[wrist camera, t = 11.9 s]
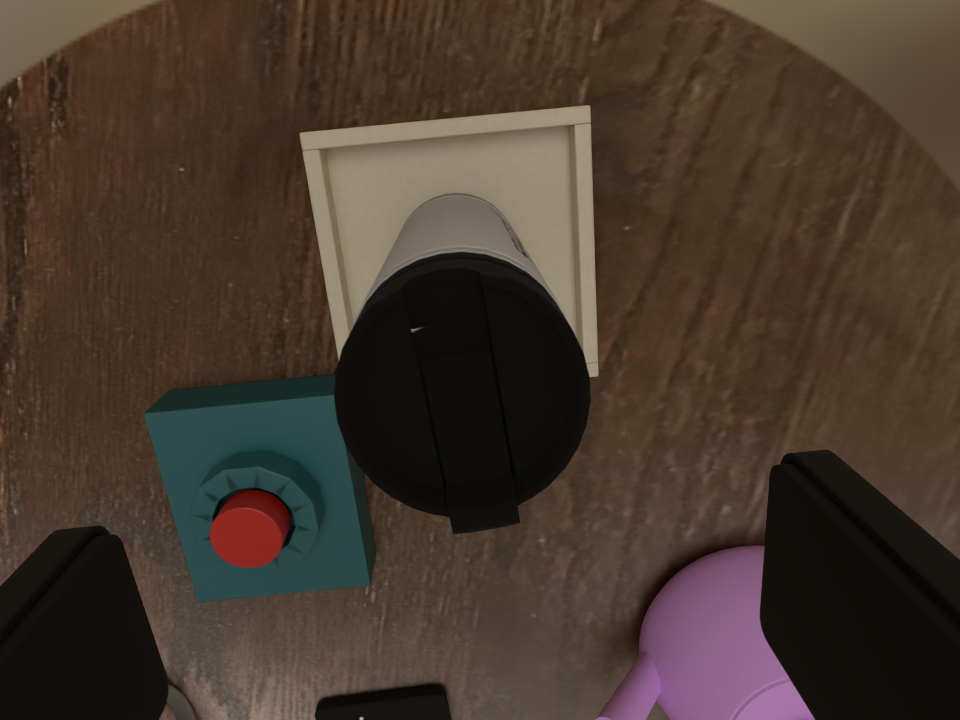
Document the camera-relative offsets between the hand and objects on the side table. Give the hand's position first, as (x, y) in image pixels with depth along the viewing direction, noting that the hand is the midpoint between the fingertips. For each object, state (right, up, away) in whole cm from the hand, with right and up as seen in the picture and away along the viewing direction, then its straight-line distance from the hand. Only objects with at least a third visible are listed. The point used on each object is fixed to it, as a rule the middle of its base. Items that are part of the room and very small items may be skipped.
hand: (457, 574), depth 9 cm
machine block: (-12, -4, +29) cm, 32 cm away
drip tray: (-1, +9, +25) cm, 27 cm away
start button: (-11, -5, +25) cm, 28 cm away
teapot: (+16, -14, +34) cm, 41 cm away
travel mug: (-1, +9, +25) cm, 26 cm away
